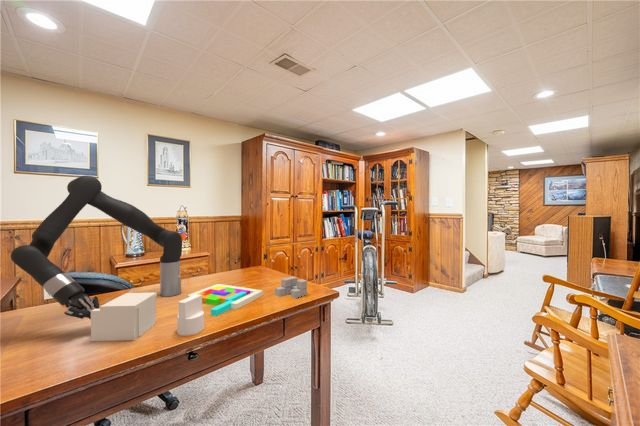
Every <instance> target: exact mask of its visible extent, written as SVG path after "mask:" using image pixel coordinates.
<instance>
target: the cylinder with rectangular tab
mask: <svg viewBox="0 0 640 426" xmlns="http://www.w3.org/2000/svg"><path fill="white" fill-rule="evenodd" d="M176 319H177V320H176V324H177V325H176V327H177V329H176V332H177V335H179V336H183V337H185V336H186V337H187V336H192V335H196V334H199V333H202V331H203V330H204V329H205V313H204V310H203V303H202V295H199V294H195V295H193V296H191V297H188V298H187V297H186V298H183V299H181V300H179V301H178V313H177V316H176Z"/></svg>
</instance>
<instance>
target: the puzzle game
mask: <svg viewBox="0 0 640 426" xmlns="http://www.w3.org/2000/svg"><path fill="white" fill-rule="evenodd" d="M195 294H199V295H202V304H206V305H211V306H214V307H212V308H211V309H210V315H211V316H215V317H218V316H220V315H221V314H223V313H225V312H228V311H229V310H231V309H232V310H239V309H240V308H241V307H244V306H245V305H248V304H249V303H251V302H253V301H255V300H256V299H258V298H260V297H262V296H264V290H262V289H255V288H249V287H243V286H234V285H230V284H229V285H228V284H222V283H217V284H214V285H211V286H208V287H206V288H203V289H200V290H197V291H195V292H192V293H189V294H187V295H186V298H188V297H191V296H193V295H195Z"/></svg>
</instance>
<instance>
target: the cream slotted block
mask: <svg viewBox="0 0 640 426" xmlns="http://www.w3.org/2000/svg"><path fill="white" fill-rule="evenodd" d="M157 297H158V292H126V293H124V294H122V295H120V296H118V297H115V298H113V299H111V300H110V301H108V302H106V303H104V304H102V305H99V307H100V308H99V309H94V310H92V311H91V320H90V342H115V341H117V342H118V341H120V342H121V341H135V340H136V339H138V338H140V337H142V336H143V335H144V334H145V333H146V332H147V331H149V330H150V329H151V328H152V327H153V326H155V323H157V308H156V307H157V306H156V305H157V303H156V301H157V300H156V299H157Z"/></svg>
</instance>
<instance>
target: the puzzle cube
mask: <svg viewBox="0 0 640 426" xmlns="http://www.w3.org/2000/svg"><path fill="white" fill-rule="evenodd" d="M280 283H281V286H277V287H275V288H274V295H275V296H277V297H278V298H280V297H282V296H283V295H284V296H286V294H287V295H290V298H292V299H294V298H295V299H299V298H298V297H300V298H302V297H301V296H303V297H305V296H304V295H306V296H308V280H305V279H303V278H301V279H298V277H297V276H289V277H283V278H281V282H280ZM290 293H291V294H290ZM284 296H283V297H284Z"/></svg>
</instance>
